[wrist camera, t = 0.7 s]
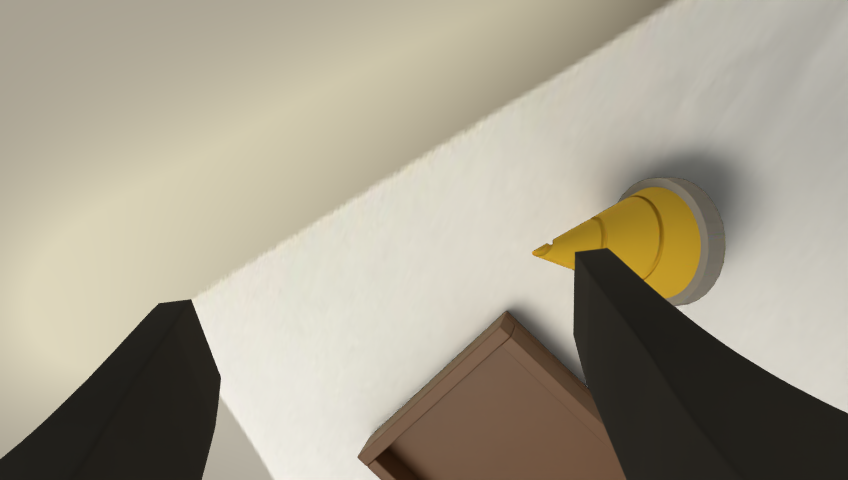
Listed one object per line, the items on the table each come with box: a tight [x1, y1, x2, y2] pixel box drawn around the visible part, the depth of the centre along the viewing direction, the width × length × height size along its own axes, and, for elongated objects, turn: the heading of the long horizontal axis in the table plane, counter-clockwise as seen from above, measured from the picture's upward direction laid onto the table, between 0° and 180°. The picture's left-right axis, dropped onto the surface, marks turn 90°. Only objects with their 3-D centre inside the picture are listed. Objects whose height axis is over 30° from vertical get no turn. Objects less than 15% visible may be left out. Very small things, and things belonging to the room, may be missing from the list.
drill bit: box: [532, 178, 725, 306], centre depth 28 cm, size 5×5×10 cm
